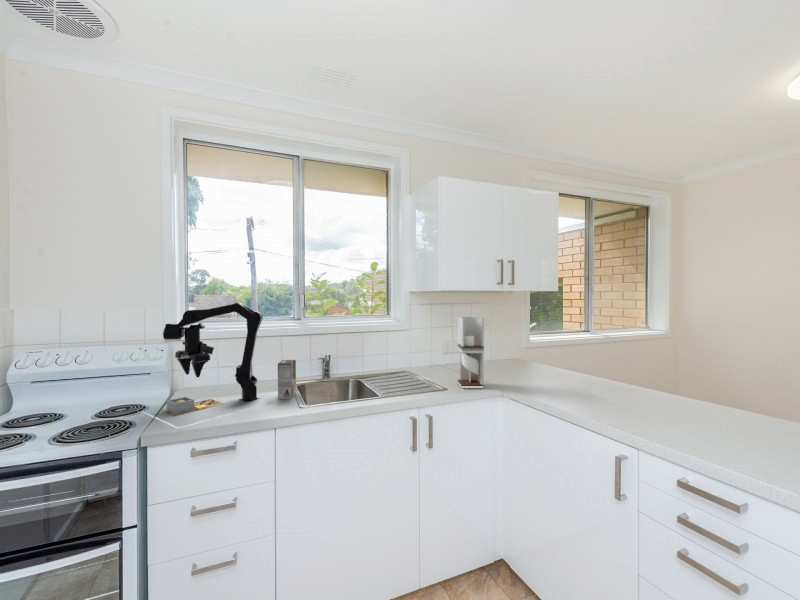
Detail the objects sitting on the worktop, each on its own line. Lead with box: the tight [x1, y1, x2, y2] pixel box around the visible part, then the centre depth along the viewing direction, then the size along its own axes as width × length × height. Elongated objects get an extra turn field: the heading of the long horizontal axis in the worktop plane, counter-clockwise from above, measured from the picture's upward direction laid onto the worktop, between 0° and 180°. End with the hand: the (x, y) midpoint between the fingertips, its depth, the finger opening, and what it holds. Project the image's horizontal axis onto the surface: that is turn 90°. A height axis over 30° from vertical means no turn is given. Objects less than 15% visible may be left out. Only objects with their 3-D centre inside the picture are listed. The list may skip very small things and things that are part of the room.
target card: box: [194, 404, 209, 411], centre depth 151 cm, size 4×4×1 cm
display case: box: [457, 316, 485, 386], centre depth 190 cm, size 11×11×35 cm
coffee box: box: [277, 359, 297, 400], centre depth 171 cm, size 9×6×16 cm
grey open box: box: [166, 396, 195, 414], centre depth 148 cm, size 7×7×4 cm
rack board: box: [160, 398, 225, 417], centre depth 153 cm, size 12×20×1 cm, turn 144°
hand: (192, 375), depth 159 cm, fingers open, 9 cm apart
